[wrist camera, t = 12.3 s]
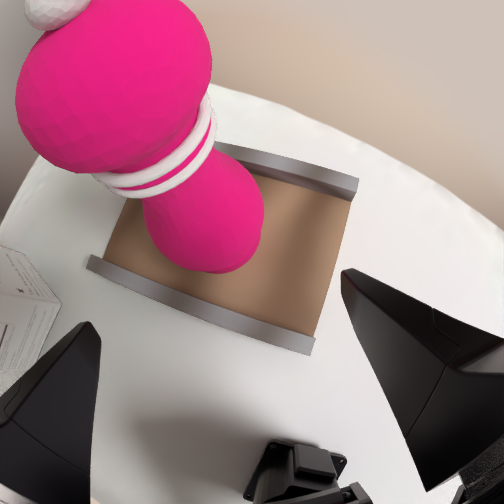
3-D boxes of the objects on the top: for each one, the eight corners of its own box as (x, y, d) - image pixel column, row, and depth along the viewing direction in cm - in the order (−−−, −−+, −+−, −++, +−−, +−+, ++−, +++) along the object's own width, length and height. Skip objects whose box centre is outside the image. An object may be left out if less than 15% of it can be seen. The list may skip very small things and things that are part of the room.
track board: (352, 191, 22) (359, 178, 20) (306, 352, 20) (309, 356, 17) (158, 144, 25) (148, 130, 23) (101, 273, 23) (85, 268, 20)
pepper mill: (158, 228, 22) (-44, 51, 3) (229, 172, 23) (134, -77, 4) (209, 301, 21) (-102, 177, 1) (288, 238, 21) (282, -94, 2)
